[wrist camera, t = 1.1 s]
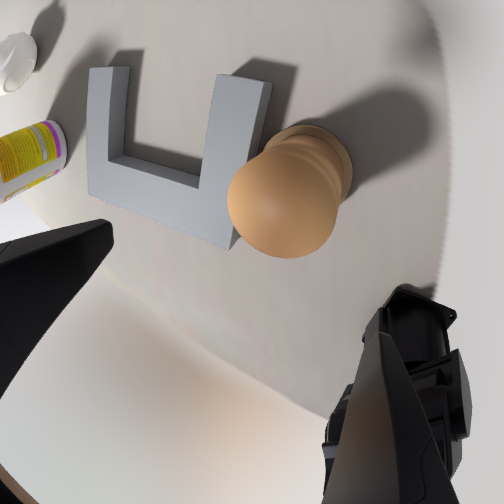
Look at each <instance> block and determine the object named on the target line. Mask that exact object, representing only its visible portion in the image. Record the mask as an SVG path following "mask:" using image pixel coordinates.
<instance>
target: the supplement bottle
mask: <svg viewBox="0 0 504 504" xmlns="http://www.w3.org/2000/svg"><path fill="white" fill-rule="evenodd" d="M66 157H67V146H66V140H65V137H64V134H63V132H62V130H61V128H60V127H59V125H58V124H57V123H56V122H54V121H52V120H46V121H43V122H40V123H37V124H34V125H31V126H28V127H26V128H23V129H20V130H18V131H15V132H13V133H10V134H8V135H5V136H3V137H0V205H1V204H3V203H4V202H6V201H8V200H9V199H11V198H13V197H14V196H16V195H18V194H20V193H22V192H23V191H25V190H27V189H29V188H31V187H33V186H35V185H37V184H38V183H40V182H42V181H44V180H46V179H48V178H50V177H52V176H54V175H56V174H58V173H59V172H60V171H61V170H62V169H63V167H64V165H65V162H66Z"/></svg>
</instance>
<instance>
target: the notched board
mask: <svg viewBox="0 0 504 504" xmlns="http://www.w3.org/2000/svg"><path fill="white" fill-rule="evenodd" d="M130 67H131V66H108V67H96V68H90V70H89V81H88V94H87V116H86V157H87V179H88V193H89V195H91V196H93V197H96V198H98V199H101V200H103V201H105V202H108V203H110V204H113V205H115V206H118V207H120V208H123V209H125V210H128V211H130V212H133V213H135V214H138V215H140V216H143V217H145V218H148V219H150V220H153V221H155V222H158V223H160V224H163V225H165V226H168V227H170V228H173V229H175V230H178V231H180V232H183V233H185V234H188V235H190V236H193V237H195V238H198V239H200V240H203V241H205V242H208V243H210V244H213V245H215V246H218V247H221V248H223V249H226V250H228V251H229V250H230V249H231V247H232V246H233V245H234V244H235V242H236V241H237V240H238V239H239V236H240V234H239V233H238V231H237V230H236V228H235V227H234V225H233V223H232V220H231V218H230V215H229V211H228V205H227V195H228V189H229V185H230V183H231V180H232V178H233V177H234V175H235V173H236V172H237V171H238V170H239V169H240V168H241V167H242V166H243V165H244V164H245V163H247V162H248V161H250V160H251V159H253V158H254V157H256V156H257V153H258V149H259V144H260V140H261V135H262V131H263V127H264V122H265V118H266V113H267V109H268V105H269V100H270V96H271V92H272V88H273V83H270V82H266V81H261V80H256V79H251V78H246V77H240V76H234V75H225V74H217V75H216V80H215V86H214V91H213V97H212V102H211V108H210V114H209V120H208V126H207V132H206V139H205V146H204V152H203V159H202V167H201V174H200V177H199V176H196V175H193V174H189V173H186V172H183V171H180V170H176V169H173V168H169V167H166V166H162V165H159V164H155V163H152V162H148V161H145V160H141V159H137V158H134V157H130V156H126V155H124V133H125V116H126V103H127V93H128V83H129V75H130Z"/></svg>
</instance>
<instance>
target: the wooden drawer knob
mask: <svg viewBox="0 0 504 504" xmlns="http://www.w3.org/2000/svg"><path fill="white" fill-rule="evenodd" d="M352 176H353V167H352V161H351V158H350V155H349V153H348V150H347V149H346V147H345V145H344V144H343V143H342V142H341V140H339V139H338V138H337V137H336V136H335V135H334V134H332V133H331V132H329V131H328V130H326V129H323V128H321V127H318V126H314V125H296V126H292V127H289V128H287V129H285V130H283V131H281V132H279V133H278V134H276V135H275V136H273V137H272V138H271V139H270V140H269V141H268V143H267V144H266V146H265V147H264V149H263V151H262V153H261V154H259V155H257V156H256V157H254V158H253V159H251V160H250V161H248V162H247V163H245V164H244V165H243V166H242V167H241V168H240V169H239V170H238V171H237V172H236V173H235V175H234V177H233V178H232V180H231V183H230V185H229V189H228V195H227V205H228V211H229V215H230V218H231V220H232V223H233V225H234V227H235V228H236V230H237V231H238V233H239V234H240V235H241V236H242V238H243V239H244V240H245V241H246V242H248V243H249V244H250V245H251V246H253V247H254V248H255V249H257V250H259V251H261V252H263V253H265V254H268V255H271V256H274V257H279V258H297V257H302V256H305V255H308V254H310V253H312V252H314V251H315V250H317V249H318V248H320V247H321V246H322V245H323V244H324V243H325V242H326V241H327V239H328V238H329V236H330V235H331V233H332V231H333V228H334V225H335V221H336V217H337V212H338V207H339V205H340V204H341V203H342V202H343V201H344V200H345V198H346V196H347V195H348V193H349V190H350V187H351V183H352Z"/></svg>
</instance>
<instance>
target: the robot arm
mask: <svg viewBox="0 0 504 504" xmlns="http://www.w3.org/2000/svg"><path fill="white" fill-rule="evenodd" d="M113 245H114V238H113V227H112V224H111V222H109V221H107V220H105V219H97V220H93V221H88V222H84V223H79V224H75V225H71V226H66V227H62V228H58V229H54V230H50V231H46V232H42V233H38V234H34V235H31V236H26V237H23V238H20V239H15V240H13V241H8V242H5V243H1V244H0V399H1V397H2V396H3V394H4V392H5V391H6V389H7V388H8V386H9V384H10V383H11V381H12V380H13V378H14V377H15V375H16V374H17V372H18V371H19V369H20V368H21V366H22V365H23V363H24V361H25V360H26V359H27V357H28V356H29V355H30V353H31V352H32V350H33V349H34V348H35V346H36V345H37V343H38V342H39V340H40V339H41V338H42V337H43V335H44V334H45V333H46V331H47V330H48V329H49V328H50V326H51V325H52V324H53V322H54V321H55V320H56V318H57V317H58V316H59V315H60V313H61V312H62V311H63V310H64V309H65V307H66V306H67V305H68V304H69V303H70V301H71V300H72V299H73V298H74V296H75V295H76V294H77V293H78V292H79V290H80V289H81V288H82V287H83V286H84V285H85V283H86V282H87V281H88V280H89V279H90V277H91V276H92V275H93V273H94V272H95V271H96V269H97V268H98V266H99V265H100V264H101V262H102V261H103V260H104V258H105V257H106V256H107V254H108V253H109V252H110V250H111V249H112V247H113ZM397 294H401V295H397ZM451 315H452V316H451ZM456 318H457V314H456V311H455V310H453V309H451V308H448V307H446V306H444V305H441V304H439V303H437V302H434V301H432V300H429V299H427V298H425V297H422V296H420V295H417V294H415V293H412V292H410V291H408V290H405V289H403V288H396V289H395V290H394V291H393V292H392V294H391V295H390V297H389V298H388V300H387V301H386V303H385V304H384V306H383V307H380V308H379V309H378V310H377V312H376V313H375V315H374V316H373V318H372V319H371V321H370V322H369V323H368V325H367V326H366V331H365V333H364V334H363V336H362V342H363V343H364V350H363V353H362V356H361V359H360V363H359V367H358V370H357V374H356V377H355V381H354V383H353V384H349V385H347V387H346V389H345V391H344V393H343V395H342V397H341V399H340V401H339V403H338V404H337V406H336V408H335V410H334V412H333V413H332V414H331V415H330V418H329V421H328V423H327V427H326V429H325V442H324V443H323V444H322V449H323V453H324V457H325V465H326V475H325V484H324V492H323V496H324V497H323V500H322V503H321V504H459V501H458V499H457V496H456V493H455V491H454V488H453V486H452V484H451V478H452V477H453V475H454V474H455V472H456V470H457V468H458V466H459V464H460V462H461V459H462V439H464V438H467V437H469V434H470V426H471V416H472V401H471V393H470V387H469V381H468V377H467V374H466V370H465V367H464V364H463V361H462V358H461V355H460V352H459V349H455V350H453V351H451V352H450V346H449V339H448V334H447V329H448V328H449V326H450V325H451V324H452V323H453V322H454V321H455V319H456ZM0 504H39V503H38V502H37V501H36V500H35V499H33V497H32V496H30V495H29V494H28V493H27V492H26V491H25V490H24V489H23V488H22V487H21V486H20V485H19V484H18V483H17V482H16V481H15V479H14V478H13V477H12V476H11V475H10V474H9V473H8V472H7V471H6V470H5V468H4V467H3V466H2V465H1V464H0Z"/></svg>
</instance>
